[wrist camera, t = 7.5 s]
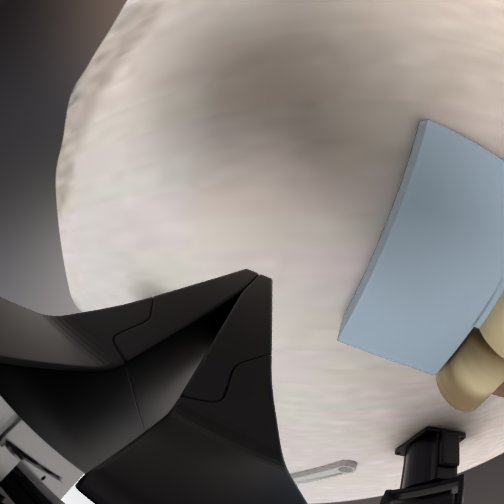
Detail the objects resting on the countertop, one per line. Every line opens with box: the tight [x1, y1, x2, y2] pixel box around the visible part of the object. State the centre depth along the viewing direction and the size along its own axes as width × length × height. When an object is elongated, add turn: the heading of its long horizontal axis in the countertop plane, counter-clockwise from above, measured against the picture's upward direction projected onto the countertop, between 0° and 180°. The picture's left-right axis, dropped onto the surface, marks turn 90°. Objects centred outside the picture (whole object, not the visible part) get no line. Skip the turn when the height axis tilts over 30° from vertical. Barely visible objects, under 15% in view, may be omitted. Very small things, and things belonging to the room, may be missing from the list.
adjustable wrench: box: [290, 460, 357, 484], centre depth 33 cm, size 25×6×2 cm, turn 145°
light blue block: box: [337, 119, 504, 375], centre depth 12 cm, size 14×13×5 cm
